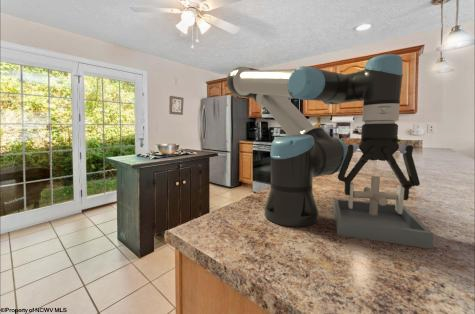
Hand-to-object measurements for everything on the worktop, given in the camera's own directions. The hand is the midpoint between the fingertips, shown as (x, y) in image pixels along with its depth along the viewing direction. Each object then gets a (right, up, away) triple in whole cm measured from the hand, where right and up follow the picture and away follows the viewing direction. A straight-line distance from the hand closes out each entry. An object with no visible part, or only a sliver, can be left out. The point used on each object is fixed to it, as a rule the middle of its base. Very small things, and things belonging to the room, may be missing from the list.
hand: (373, 209), depth 56 cm
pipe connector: (0, -1, 0) cm, 1 cm away
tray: (0, -4, 0) cm, 4 cm away
